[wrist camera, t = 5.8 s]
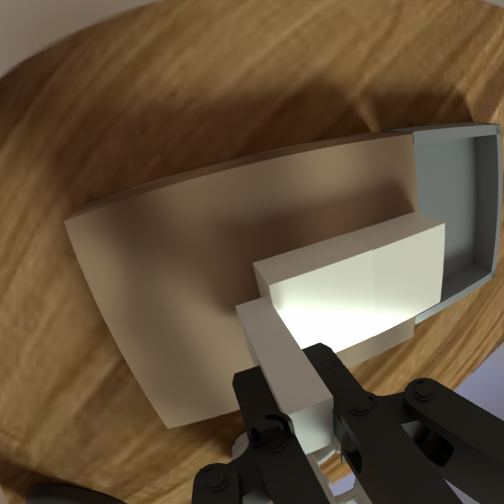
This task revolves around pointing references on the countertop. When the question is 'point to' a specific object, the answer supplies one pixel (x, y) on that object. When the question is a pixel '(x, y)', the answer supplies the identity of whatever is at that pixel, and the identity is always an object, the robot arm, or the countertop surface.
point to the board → (228, 256)
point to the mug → (317, 471)
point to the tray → (461, 200)
